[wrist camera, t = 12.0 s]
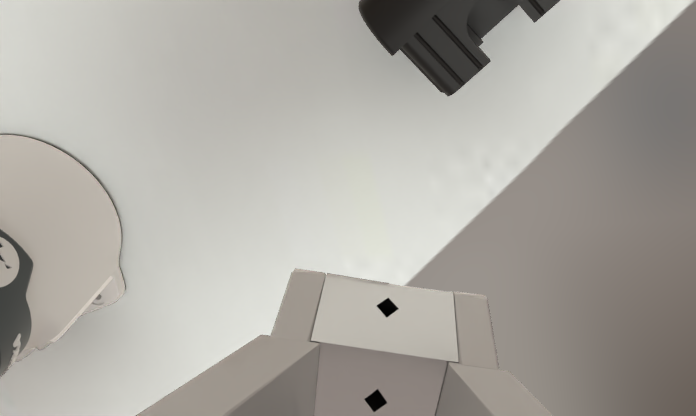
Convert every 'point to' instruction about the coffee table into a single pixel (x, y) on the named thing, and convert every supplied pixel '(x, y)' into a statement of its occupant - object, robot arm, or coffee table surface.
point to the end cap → (442, 33)
